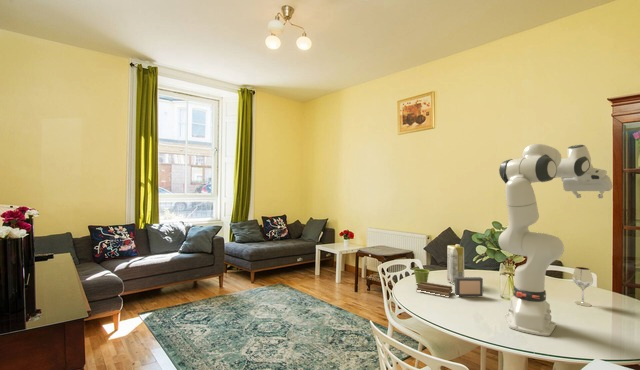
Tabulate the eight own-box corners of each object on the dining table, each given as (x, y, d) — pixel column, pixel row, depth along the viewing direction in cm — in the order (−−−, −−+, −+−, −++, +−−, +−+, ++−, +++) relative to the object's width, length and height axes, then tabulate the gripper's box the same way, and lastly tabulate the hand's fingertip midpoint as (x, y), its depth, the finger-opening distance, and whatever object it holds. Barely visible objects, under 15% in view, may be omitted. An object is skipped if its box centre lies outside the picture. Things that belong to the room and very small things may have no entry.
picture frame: (482, 297, 174) (482, 278, 174) (457, 297, 174) (456, 278, 174) (480, 295, 176) (480, 277, 177) (454, 295, 176) (454, 277, 176)
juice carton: (466, 285, 196) (466, 245, 196) (454, 285, 194) (454, 245, 195) (456, 280, 205) (456, 242, 205) (445, 281, 203) (445, 243, 204)
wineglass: (597, 307, 159) (597, 270, 159) (578, 306, 161) (578, 269, 161) (587, 301, 167) (587, 266, 167) (569, 300, 169) (569, 266, 169)
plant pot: (411, 282, 200) (411, 268, 200) (425, 282, 201) (425, 268, 201) (417, 287, 191) (417, 272, 191) (432, 286, 192) (432, 272, 192)
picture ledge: (448, 297, 172) (448, 290, 172) (416, 291, 182) (416, 284, 182) (452, 292, 181) (452, 285, 181) (421, 287, 190) (421, 280, 190)
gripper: (557, 177, 174) (564, 200, 177) (605, 175, 156) (612, 201, 159) (562, 172, 177) (569, 194, 180) (610, 170, 159) (616, 195, 162)
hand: (589, 197), depth 170 cm, fingers open, 8 cm apart
